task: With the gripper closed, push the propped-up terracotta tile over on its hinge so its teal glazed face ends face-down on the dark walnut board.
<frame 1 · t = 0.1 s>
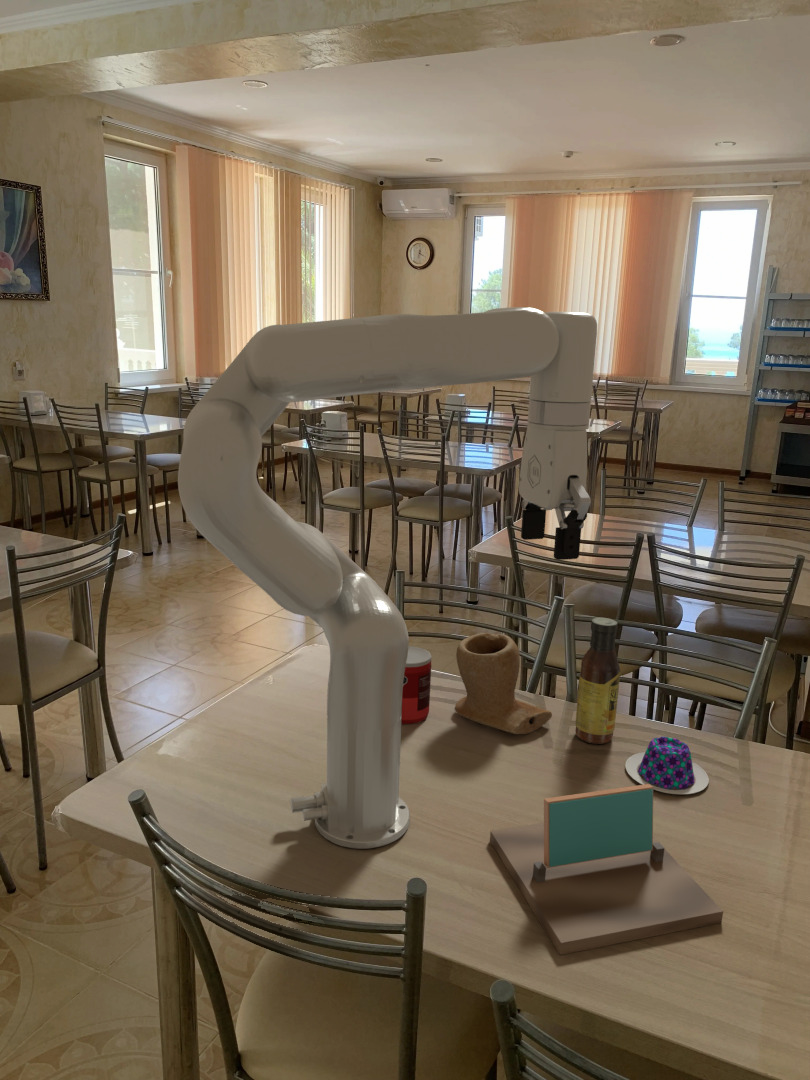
hand: (548, 548, 104), 37 cm above the table, tool pointing down, fingers open, 9 cm apart
canned food: (405, 715, 136), on the table
sauce bottle: (593, 737, 131), on the table
patterned brimmed hat: (665, 777, 121), on the table
board: (597, 878, 97), on the table
tile: (599, 825, 96), point 7 cm above the table, hinge at 80.0°
clay platform pipe: (495, 723, 135), on the table
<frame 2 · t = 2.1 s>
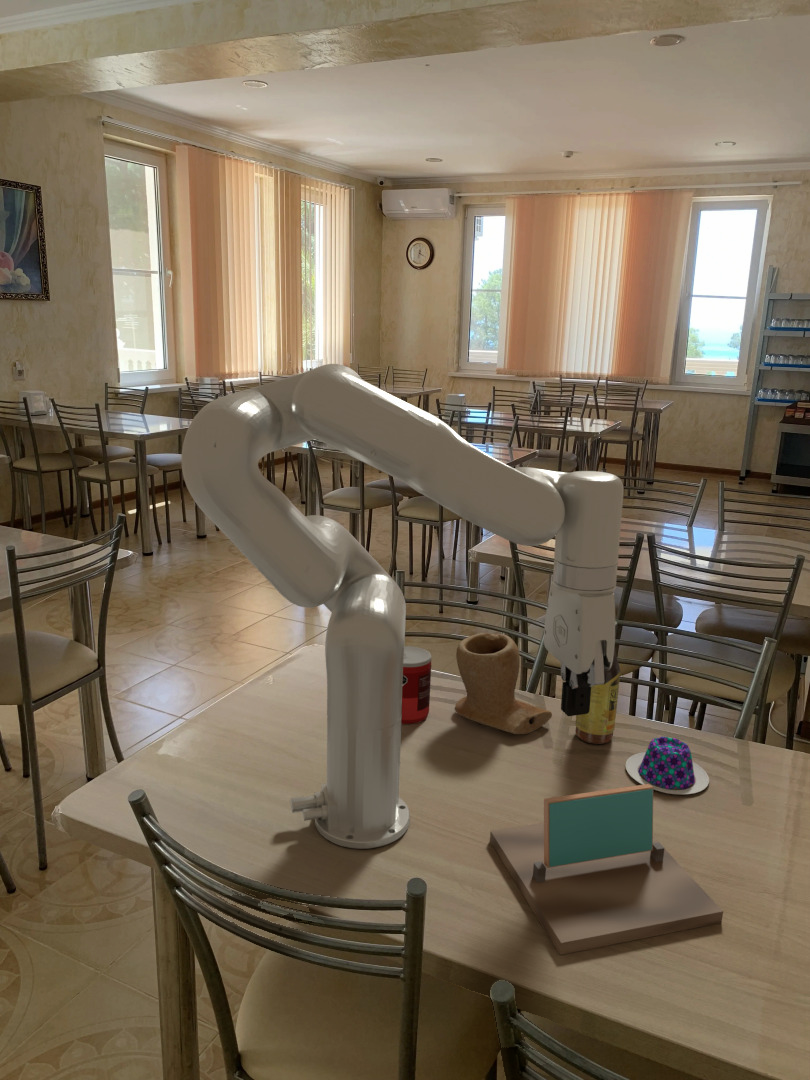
hand: (574, 711, 102), 17 cm above the table, tool pointing down, fingers closed
nothing on the table moved.
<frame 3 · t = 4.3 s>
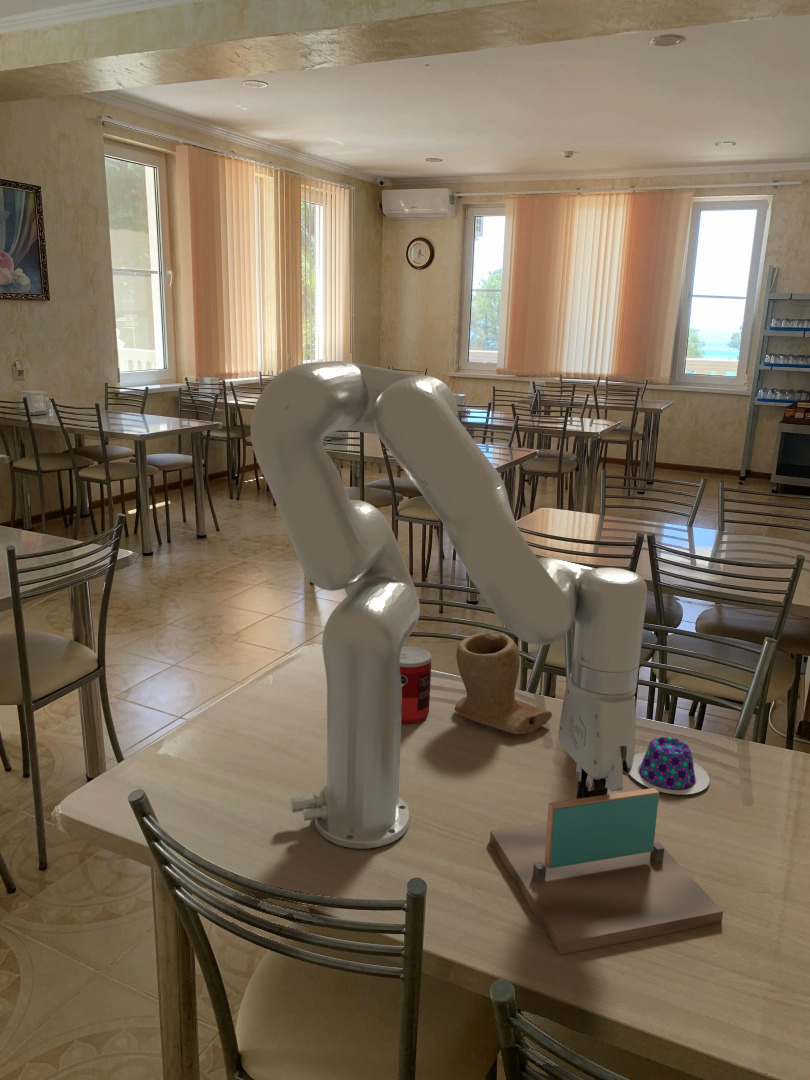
hand: (590, 812, 98), 7 cm above the table, tool pointing down, fingers closed
tile: (602, 828, 95), point 7 cm above the table, hinge at 88.2°, touching gripper
everything else where it was.
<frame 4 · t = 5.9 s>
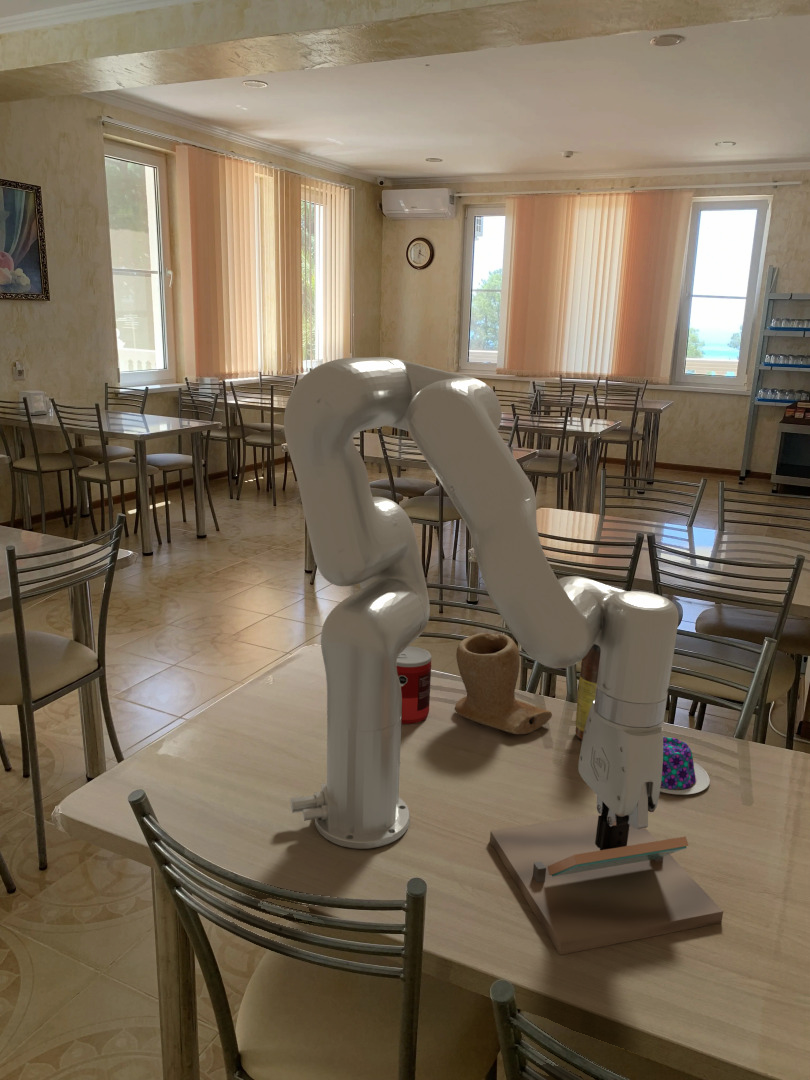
hand: (610, 847, 93), 6 cm above the table, tool pointing down, fingers closed
tile: (616, 857, 92), point 5 cm above the table, hinge at 135.1°, touching gripper
everything else where it was.
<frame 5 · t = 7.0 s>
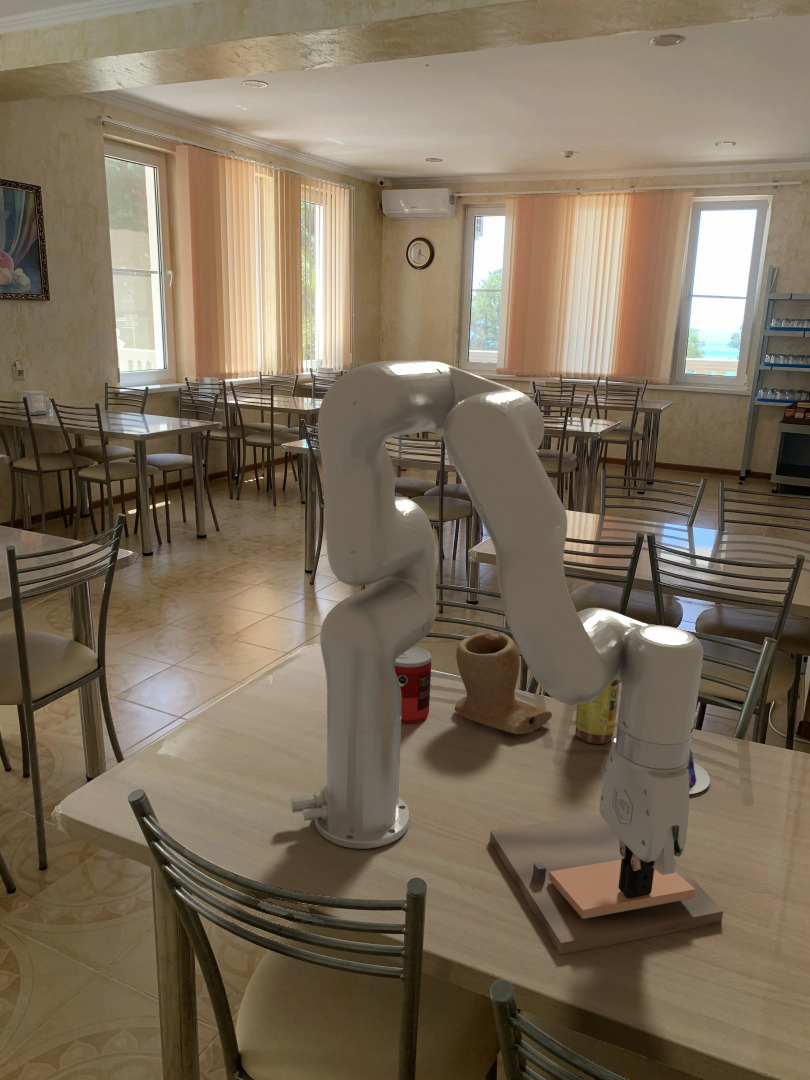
hand: (634, 891, 89), 4 cm above the table, tool pointing down, fingers closed
tile: (620, 885, 92), point 3 cm above the table, hinge at 172.1°, touching gripper
everything else where it was.
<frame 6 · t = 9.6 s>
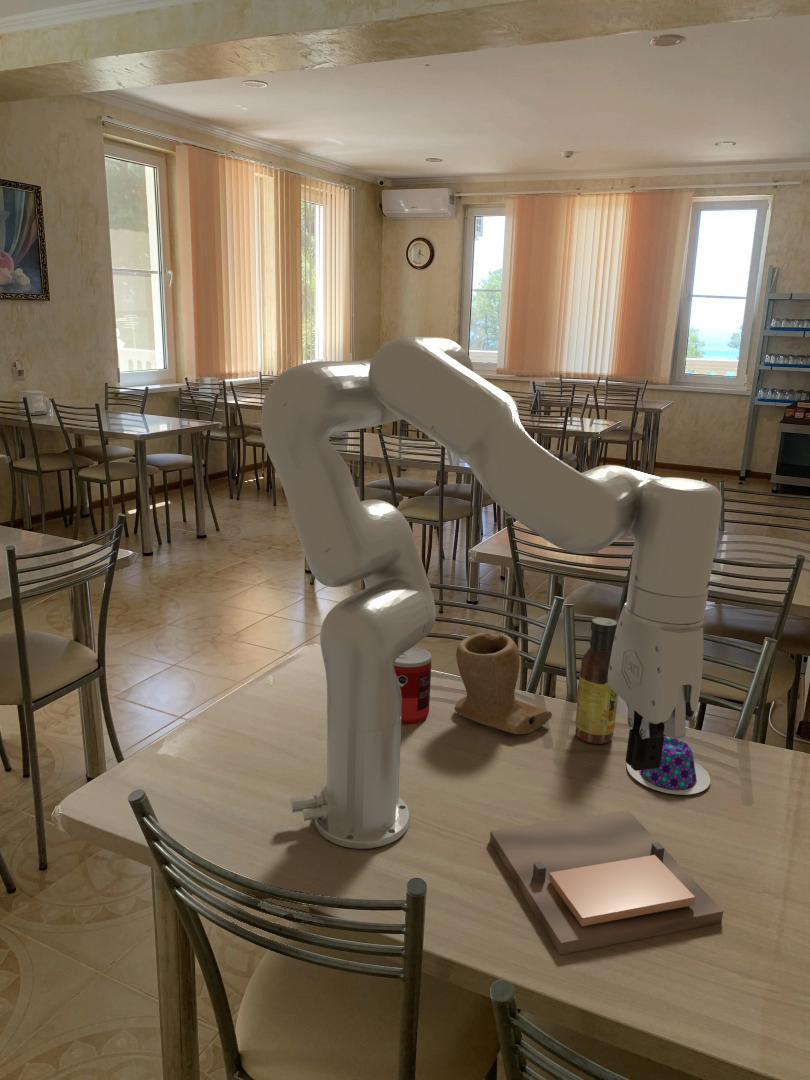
hand: (642, 765, 85), 20 cm above the table, tool pointing down, fingers closed
tile: (620, 889, 92), point 2 cm above the table, hinge at 178.1°
everything else where it was.
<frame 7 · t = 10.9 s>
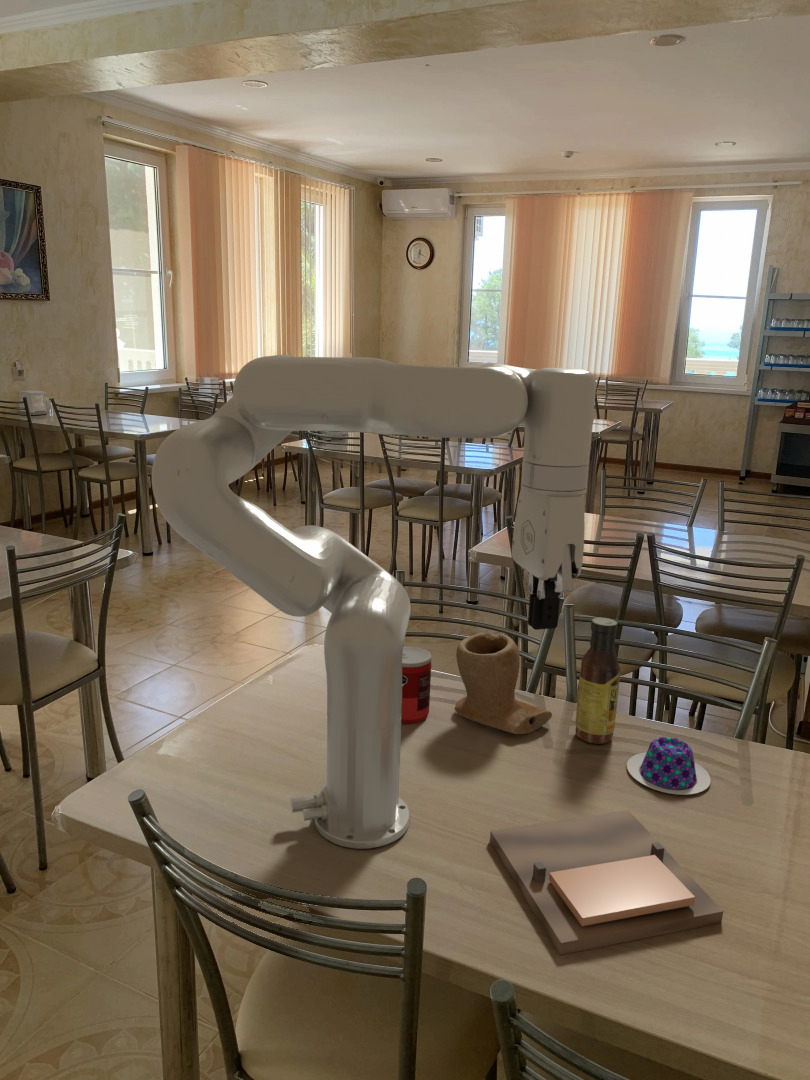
hand: (542, 626, 97), 29 cm above the table, tool pointing down, fingers closed
nothing on the table moved.
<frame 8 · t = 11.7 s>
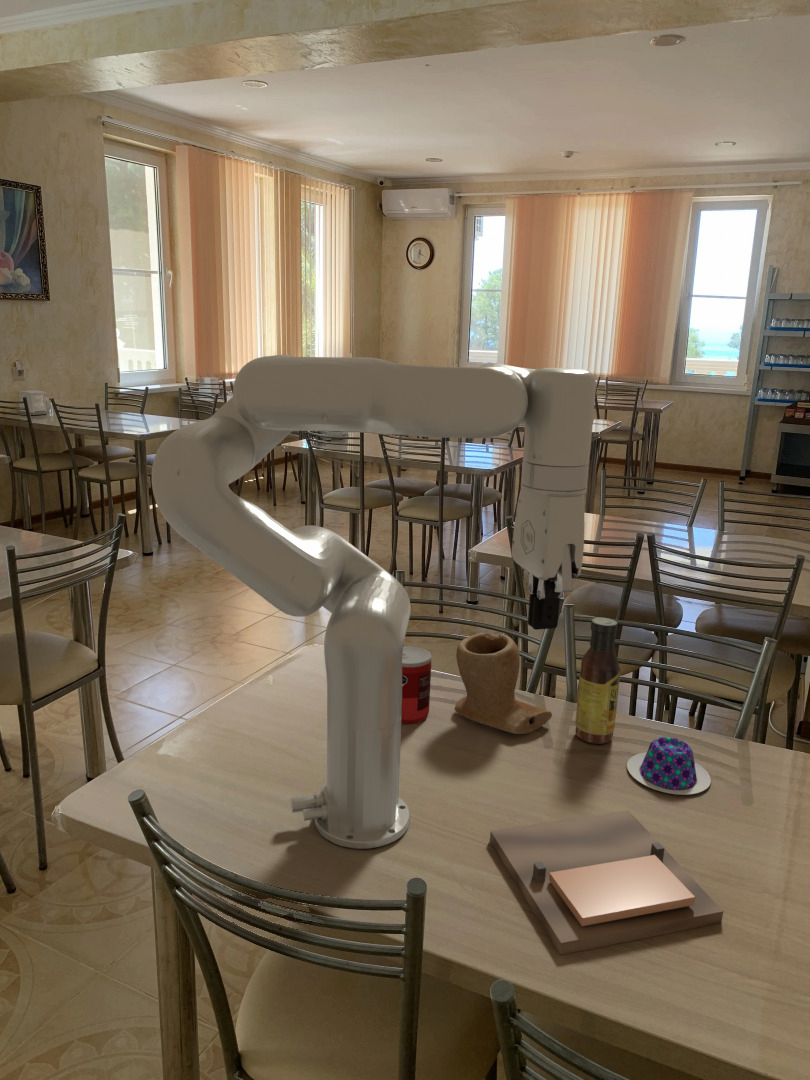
hand: (542, 626, 97), 29 cm above the table, tool pointing down, fingers closed
nothing on the table moved.
at the end: tile at +178° (first picture: +80°) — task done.
